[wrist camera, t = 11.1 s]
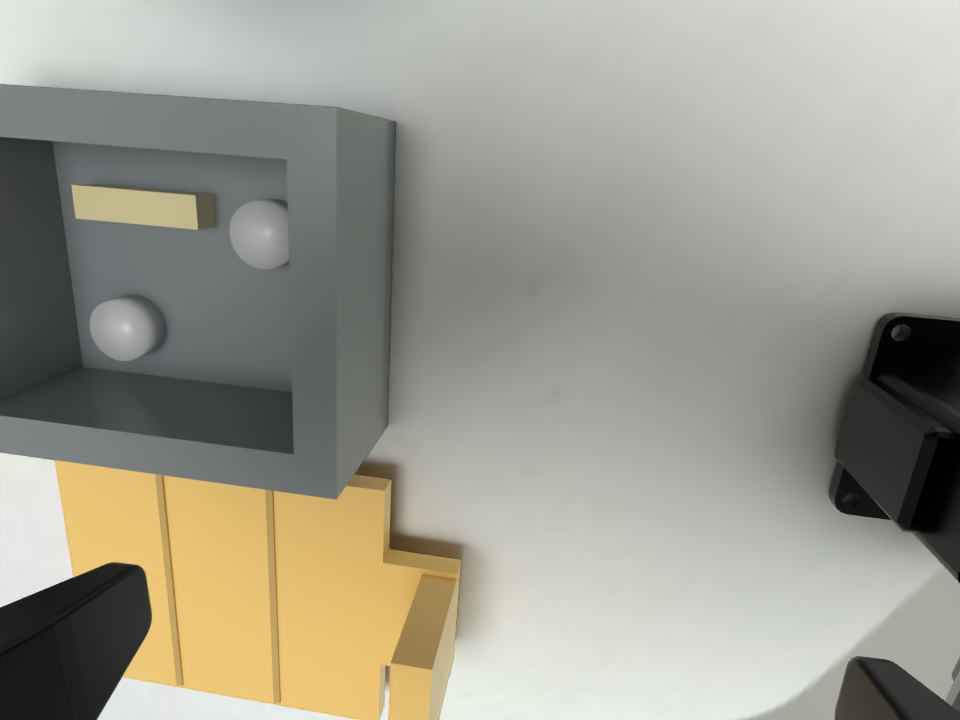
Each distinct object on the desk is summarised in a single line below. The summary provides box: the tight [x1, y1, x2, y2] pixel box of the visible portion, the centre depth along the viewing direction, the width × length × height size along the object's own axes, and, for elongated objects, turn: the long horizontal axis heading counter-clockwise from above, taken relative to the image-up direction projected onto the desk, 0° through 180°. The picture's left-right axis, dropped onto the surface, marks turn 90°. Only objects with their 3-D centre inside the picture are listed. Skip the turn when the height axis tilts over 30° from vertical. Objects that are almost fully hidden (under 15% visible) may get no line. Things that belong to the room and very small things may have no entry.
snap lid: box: [55, 460, 461, 720], centre depth 21 cm, size 15×10×6 cm
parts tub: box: [0, 84, 396, 500], centre depth 18 cm, size 12×10×5 cm
